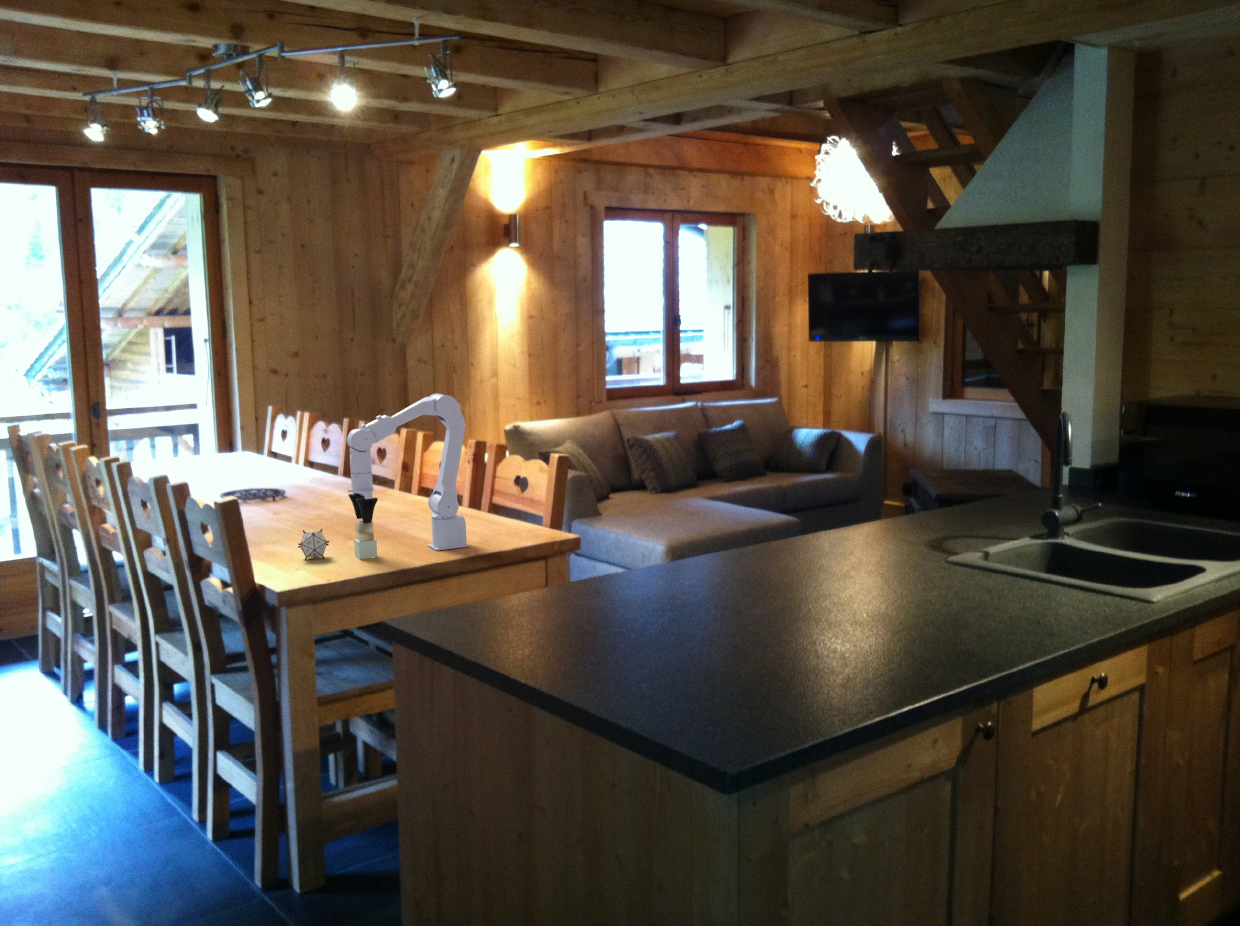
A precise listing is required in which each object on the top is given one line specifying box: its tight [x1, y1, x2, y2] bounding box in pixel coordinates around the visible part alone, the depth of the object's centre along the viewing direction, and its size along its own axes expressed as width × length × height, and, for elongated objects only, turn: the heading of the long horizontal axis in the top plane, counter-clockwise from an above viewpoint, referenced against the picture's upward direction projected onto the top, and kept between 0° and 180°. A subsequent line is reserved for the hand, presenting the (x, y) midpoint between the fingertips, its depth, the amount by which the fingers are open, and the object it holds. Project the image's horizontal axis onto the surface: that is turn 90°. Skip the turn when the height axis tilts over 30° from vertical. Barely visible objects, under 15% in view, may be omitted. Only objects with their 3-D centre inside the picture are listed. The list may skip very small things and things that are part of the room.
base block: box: [353, 538, 378, 560], centre depth 303 cm, size 5×5×5 cm
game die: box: [297, 528, 330, 561], centre depth 302 cm, size 9×8×10 cm
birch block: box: [354, 520, 375, 542], centre depth 302 cm, size 4×4×5 cm
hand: (364, 520), depth 302 cm, fingers open, 7 cm apart
